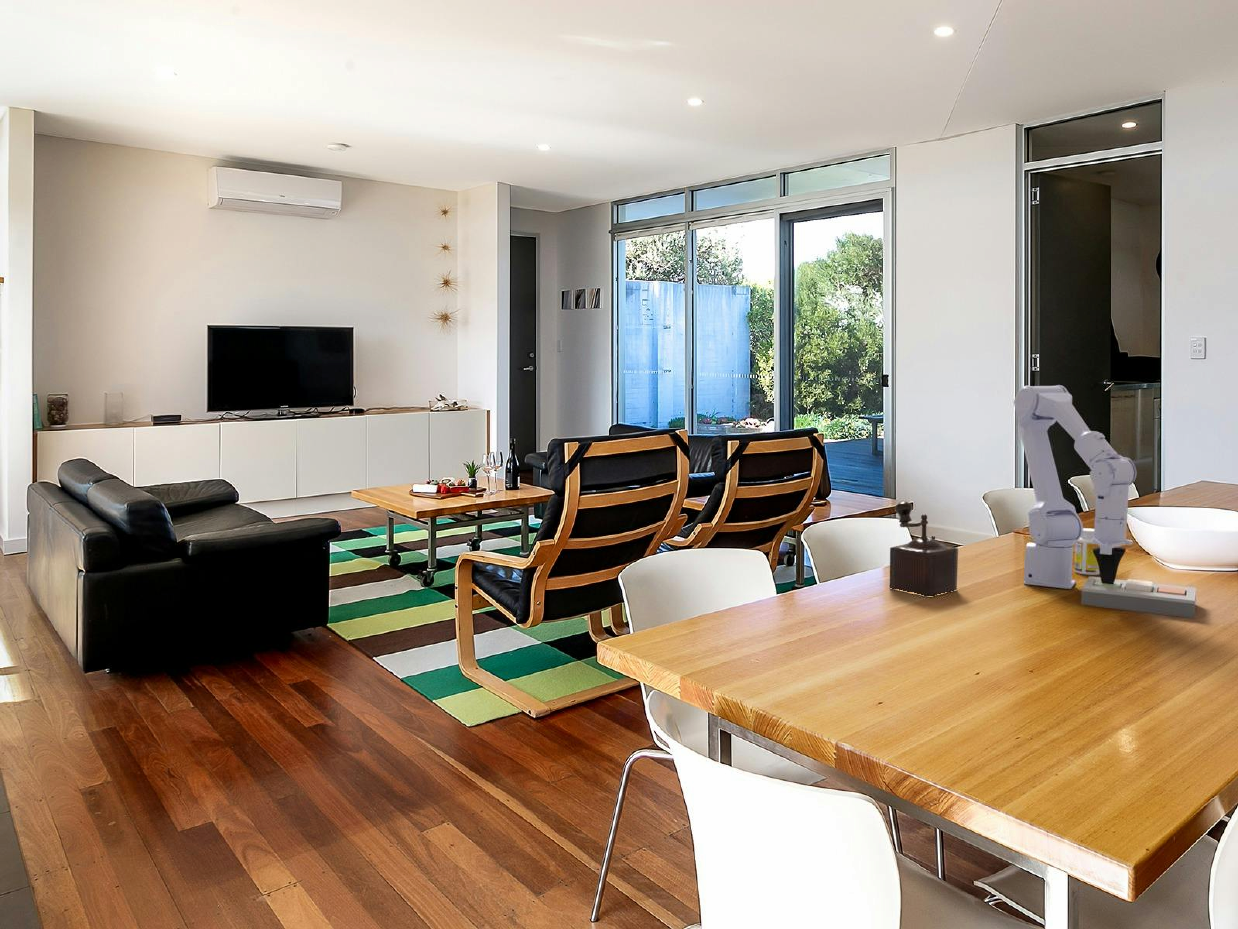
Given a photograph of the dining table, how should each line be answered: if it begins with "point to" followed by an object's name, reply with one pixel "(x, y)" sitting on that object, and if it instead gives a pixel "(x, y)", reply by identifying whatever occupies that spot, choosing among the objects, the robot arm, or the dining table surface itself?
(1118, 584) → the sage key
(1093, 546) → the supplement bottle
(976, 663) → the dining table surface
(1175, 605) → the keypad base
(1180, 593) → the terracotta key
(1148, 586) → the cream key
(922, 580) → the manual coffee grinder
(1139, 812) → the dining table surface
